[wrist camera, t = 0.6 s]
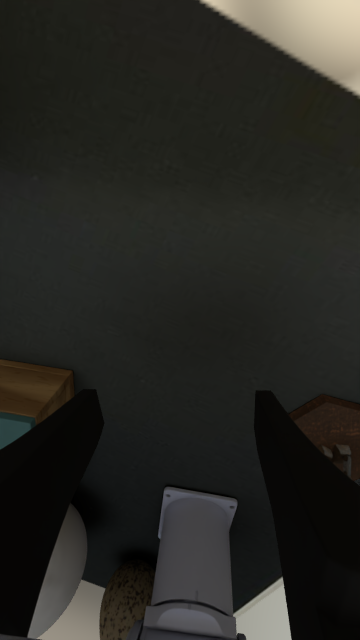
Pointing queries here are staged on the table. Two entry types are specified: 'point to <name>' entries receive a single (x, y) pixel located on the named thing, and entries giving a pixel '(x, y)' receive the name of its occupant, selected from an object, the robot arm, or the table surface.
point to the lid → (13, 427)
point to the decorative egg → (126, 599)
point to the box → (33, 389)
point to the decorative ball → (61, 573)
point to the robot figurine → (333, 431)
